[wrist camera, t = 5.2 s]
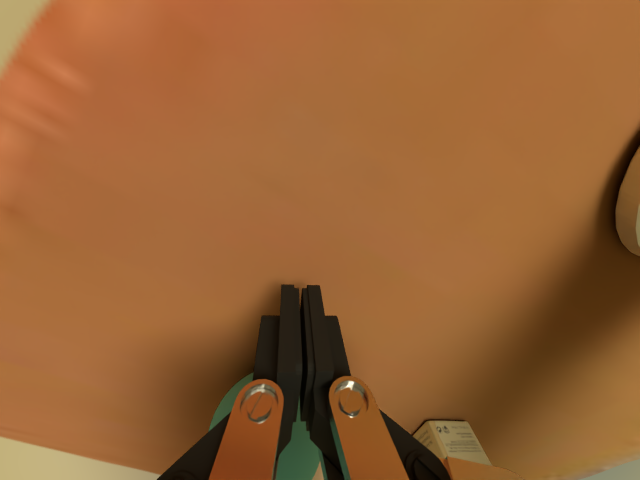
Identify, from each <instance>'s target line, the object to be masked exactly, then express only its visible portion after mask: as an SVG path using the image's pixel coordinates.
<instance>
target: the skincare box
mask: <svg viewBox="0 0 640 480" xmlns="http://www.w3.org/2000/svg"><path fill="white" fill-rule="evenodd" d="M413 437H414V438H415V439H417V440H418V441H419V442H420V443H422V444H423V445H424V446H425V447H427V448H428V449H429V450H430V451H432V452H433V453H434V454H435V455H436V456H437V457H439V458H444V459H445V458H446V457H447V456H448V457H453V458H458V459H462V460H467V461H472V462H476V463H481V464H485V465H490V466H492V464H491V462H490V461H489V459H488V457H487V455H486V453H485V452H484V450H483V448H482V446H481V444H480V443H479V441H478V439H477V437H476V436H475V434H474V432H473V430H472V429H471V427H470V425H469V423H468V422H467V421H464V422H462V421H444V420H435V421H427V422H425V423H424V424H423V426H422V427H421V428H420V429H419V430H418V431H417V432H416V433H415V434H414V435H413Z"/></svg>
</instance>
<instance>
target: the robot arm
mask: <svg viewBox="0 0 640 480" xmlns="http://www.w3.org/2000/svg"><path fill="white" fill-rule="evenodd" d="M615 213H616V229H617V232H618V235H619V237H620V240H621V243H622V244H623V245H624V246H625V247H626V248H627V249H628V250H629V251H630V252H631V253H633V254H636V255H638V256H640V145H639V147H638V149H637V151H636V153H635V154H634V156H633V158H632V160H631V161H630V163H629V166H628V169H627V171H626V174H625V176H624V179H623V181H622V184H621V186H620V189H619V194H618V199H617V204H616V209H615ZM299 396H300V420H301V422H304V421H306V431H309V435H310V440H311V441H312V442H313V443H314V444H315V445H316V446H317V447H318V454H319V458H320V463H321V468H322V473H323V478H324V480H524V479H523V478H522V477H520V476H519V475H518V474H516V473H515V472H512V471H510V470H508V469H504V468H499V467H495V466H490V465H485V464H481V463H476V462H472V461H467V460H462V459H458V458H453V457H448V456H447V457H446V458H445V459H444V458H439V457H437V456H436V455H435V454H434V453H433V452H432V451H430V450H429V449H428V448H427V447H425V446H424V445H423V444H422V443H420V442H419V441H418V440H417V439H415V438H414V437H413V436H412V435H411V434H409V433H408V432H407V431H406V430H404V429H403V428H402V427H401V426H399V425H398V424H397V423H396V422H394V421H393V420H392V419H391V418H389V417H388V416H387V415H386V414H385V413H383V412H382V411H381V410H380V409H378V406H377V404H376V402H375V399H374V397H373V395H372V393H371V391H370V389H369V388H368V386H367V385H366V384H365V383H364V382H363V381H361V380H360V379H358V378H356V377H352V376H351V374H350V370H349V365H348V361H347V357H346V352H345V348H344V344H343V339H342V335H341V330H340V326H339V322H338V318H337V316H325V313H324V308H323V302H322V296H321V290H320V286H319V285H307V288H302V295H301V305H300V304H299V288H294V285H282V287H281V307H280V316H262V317H261V323H260V330H259V338H258V345H257V352H256V359H255V366H254V373H253V380H252V382H250V383H249V384H247V385H246V386H244V387H243V389H242V390H241V391H240V392H239V394H238V396H237V398H236V400H235V403H234V406H233V409H232V411H231V412H230V413H229V414H228V415H227V416H225V417H224V418H223V419H222V420H221V421H220V422H219V423H218V424H217V425H216V426H214V427H213V428H212V429H211V430H210V431H209V432H208V433H207V434H206V435H205V436H204V437H202V438H201V439H200V440H199V441H198V442H197V443H196V444H195V445H194V446H193V447H192V448H190V449H189V450H188V451H187V452H186V453H185V454H184V455H183V456H182V457H181V458H180V459H178V460H177V461H176V462H175V463H174V464H173V465H172V466H171V467H170V468H169V469H168V470H166V471H165V472H164V473H163V474H162V475H161V476H160V477H159V478H158V479H157V480H276V477H277V470H278V463H279V457H280V454H281V452H282V451H283V450H284V448H285V447H286V446H287V445H288V443H289V442H290V441H291V435H292V426H293V422H296V419H297V411H298V403H299Z"/></svg>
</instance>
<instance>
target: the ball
mask: <svg viewBox="0 0 640 480" xmlns="http://www.w3.org/2000/svg"><path fill="white" fill-rule="evenodd" d="M253 373H254V372H253ZM253 373H251V374H249V375H247V376H246V377H244V378H242V379H241V380H240V381H239V382H237V383H236V384H235V385H234V386H233V387H232V388H231V389H230V390H229V391H228V392H227V394H226V395H225V396H224V398H223V399H222V401H221V402H220V404H219V406H218V408H217V409H216V411H215V414H214V416H213V418H212V421H211V424H210V428H209V431H210V430H211V429H212V428H213V427H214V426H216V425H217V424H218V423H219V422H220V421H221V420H222V419H223V418H224V417H225V416H227V415H228V414H229V413H230V412H231V411H232V409H233V406H234V403H235V400H236V398H237V396H238V394H239V392H240V391H241V390H242V389H243V387H244V386H246V385H247V384H249V383H250V382H252V380H253ZM319 462H320V458H319V454H318V447H317V446H316V445H315V444H314V443H313V442H312V441H311V440H310V435H309V431H306V421H304V422H301V420H300V396H299V403H298V411H297V419H296V422H293V426H292V435H291V441H290V442H289V443H288V445H287V446H286V447H285V448H284V450H283V451H282V452H281V454H280V457H279V463H278V470H277V477H276V480H312V479H313V477H314V475H315V473H316V471H317V468H318V466H319Z"/></svg>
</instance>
